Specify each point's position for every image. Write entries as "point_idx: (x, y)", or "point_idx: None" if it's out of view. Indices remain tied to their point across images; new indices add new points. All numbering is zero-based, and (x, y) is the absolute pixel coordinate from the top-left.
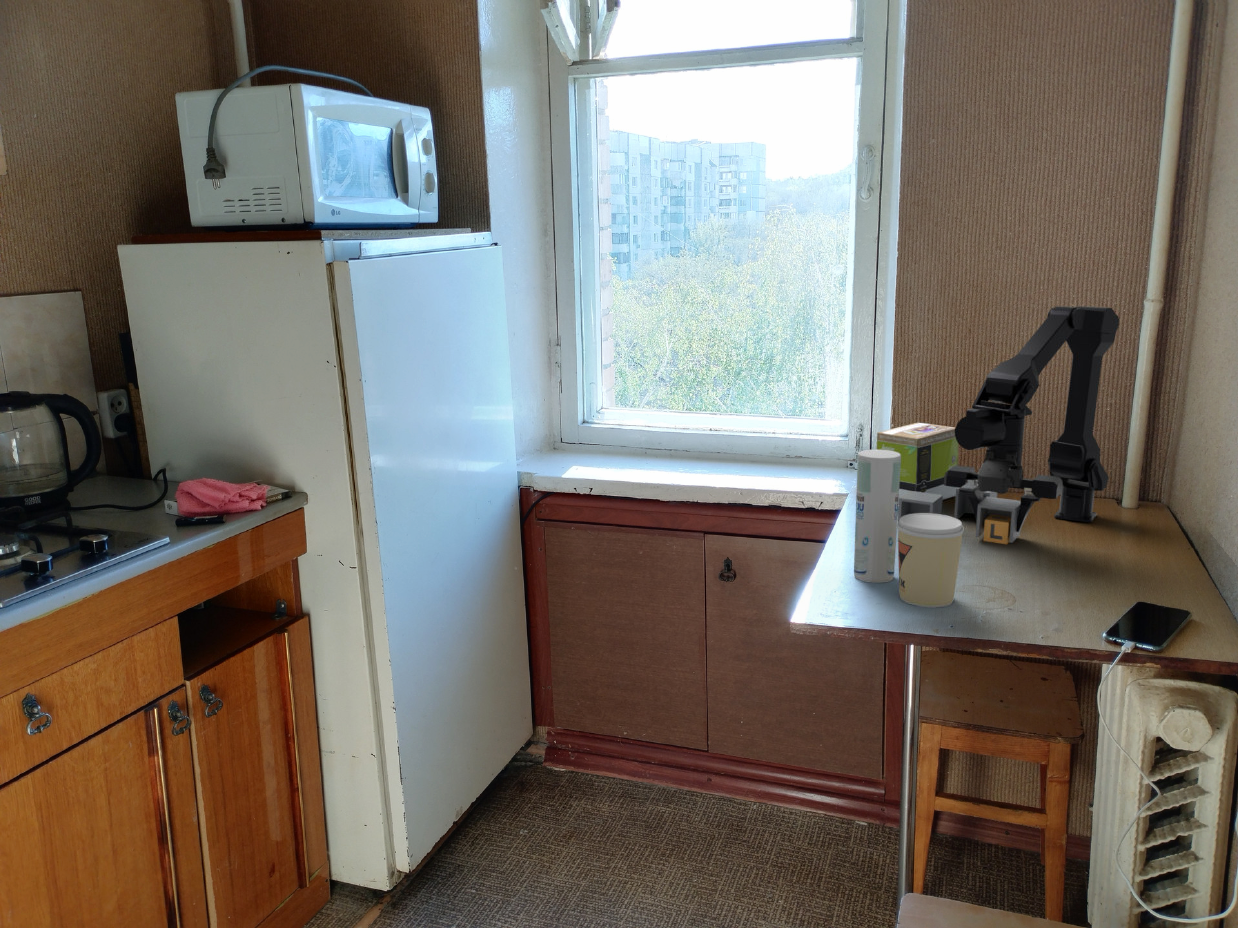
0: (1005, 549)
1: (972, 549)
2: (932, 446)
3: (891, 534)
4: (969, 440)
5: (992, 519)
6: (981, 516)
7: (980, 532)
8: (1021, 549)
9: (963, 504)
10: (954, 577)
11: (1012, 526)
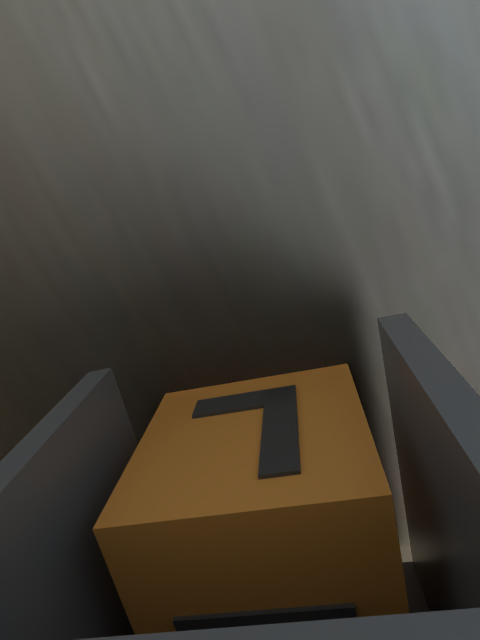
0: (101, 260)
1: (310, 31)
2: None
3: None
4: None
5: (310, 546)
6: (459, 516)
7: (393, 392)
8: (25, 344)
9: None
10: None
11: (12, 457)
